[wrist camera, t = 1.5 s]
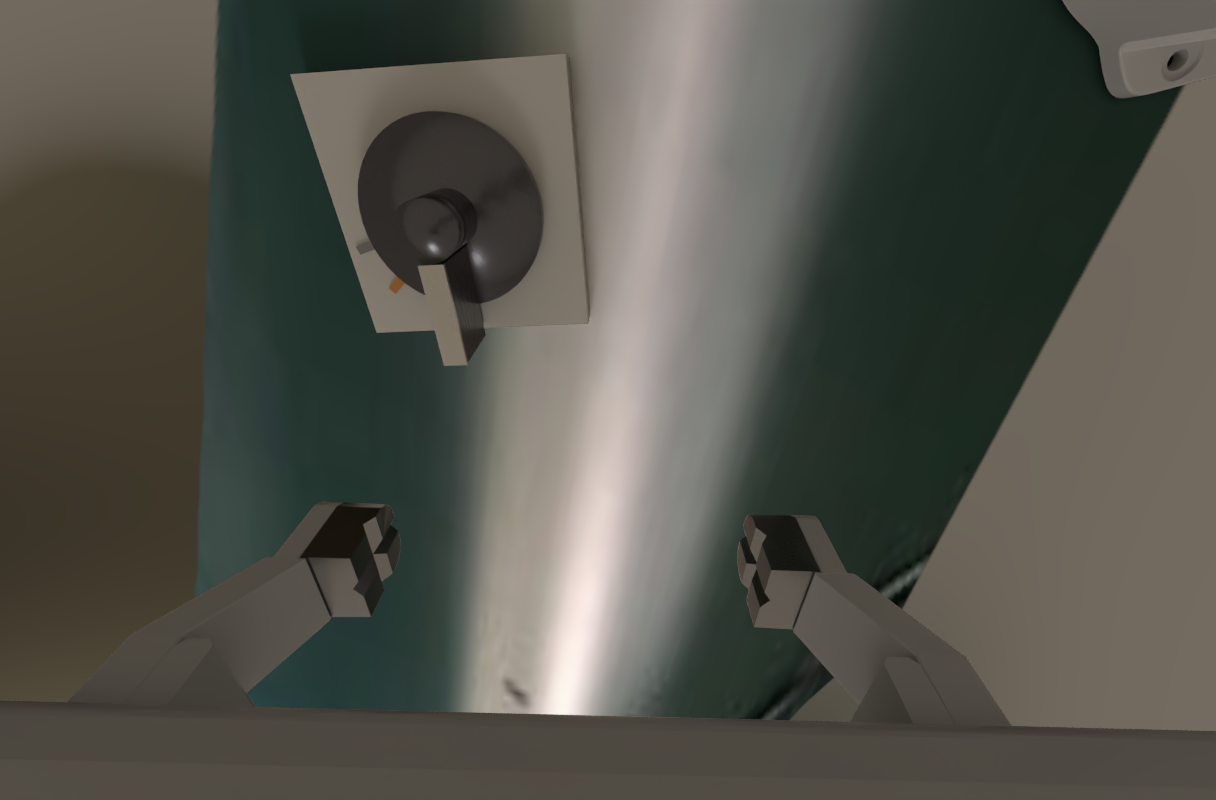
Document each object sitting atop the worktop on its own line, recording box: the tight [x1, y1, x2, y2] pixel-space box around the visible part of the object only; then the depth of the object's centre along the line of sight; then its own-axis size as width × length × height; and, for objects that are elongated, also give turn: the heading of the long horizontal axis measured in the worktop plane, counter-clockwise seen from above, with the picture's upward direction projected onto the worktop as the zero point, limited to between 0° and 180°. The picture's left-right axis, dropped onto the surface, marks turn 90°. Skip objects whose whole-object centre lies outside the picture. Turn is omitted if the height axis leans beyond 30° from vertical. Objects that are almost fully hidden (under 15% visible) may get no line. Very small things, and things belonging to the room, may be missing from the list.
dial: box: [358, 111, 544, 366], centre depth 25 cm, size 12×10×5 cm
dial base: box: [290, 54, 590, 333], centre depth 27 cm, size 14×14×2 cm
